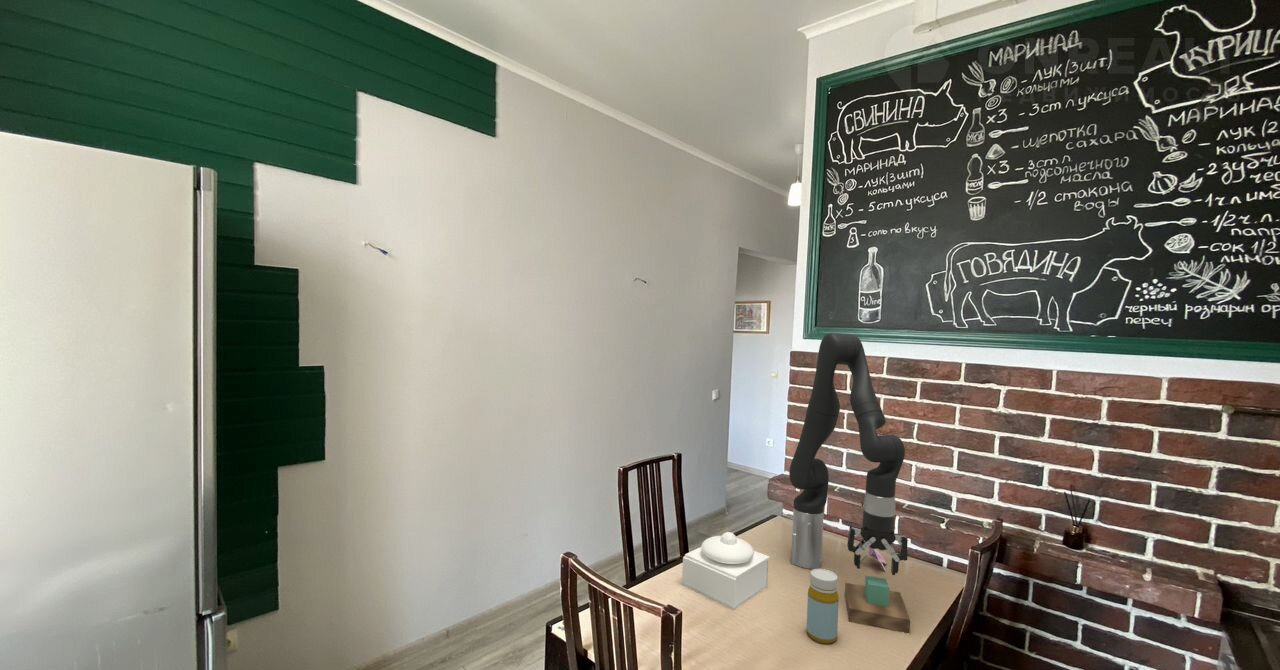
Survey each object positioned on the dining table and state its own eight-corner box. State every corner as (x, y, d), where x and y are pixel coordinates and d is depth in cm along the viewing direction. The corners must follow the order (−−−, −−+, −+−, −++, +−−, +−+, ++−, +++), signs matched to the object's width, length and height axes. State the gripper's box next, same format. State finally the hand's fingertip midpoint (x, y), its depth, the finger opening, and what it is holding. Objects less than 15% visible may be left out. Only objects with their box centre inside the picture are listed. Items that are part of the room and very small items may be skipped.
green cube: (867, 603, 131) (868, 584, 131) (864, 593, 136) (865, 575, 136) (888, 606, 130) (889, 587, 130) (884, 597, 134) (885, 578, 134)
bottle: (801, 627, 125) (804, 567, 125) (828, 627, 126) (831, 567, 126) (813, 645, 118) (816, 581, 118) (842, 644, 119) (844, 581, 119)
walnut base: (848, 623, 128) (849, 608, 128) (844, 596, 142) (845, 582, 142) (909, 636, 124) (910, 620, 124) (899, 606, 137) (900, 592, 137)
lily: (873, 580, 153) (891, 555, 152) (841, 552, 161) (858, 528, 160) (886, 580, 161) (903, 556, 160) (855, 553, 169) (871, 530, 169)
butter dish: (681, 585, 144) (683, 530, 144) (718, 565, 157) (720, 515, 157) (733, 610, 132) (736, 550, 132) (768, 587, 145) (770, 532, 145)
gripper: (851, 510, 131) (847, 571, 132) (912, 519, 127) (908, 582, 127) (848, 501, 138) (845, 559, 139) (906, 509, 134) (902, 569, 134)
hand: (875, 570), depth 133 cm, fingers open, 8 cm apart
